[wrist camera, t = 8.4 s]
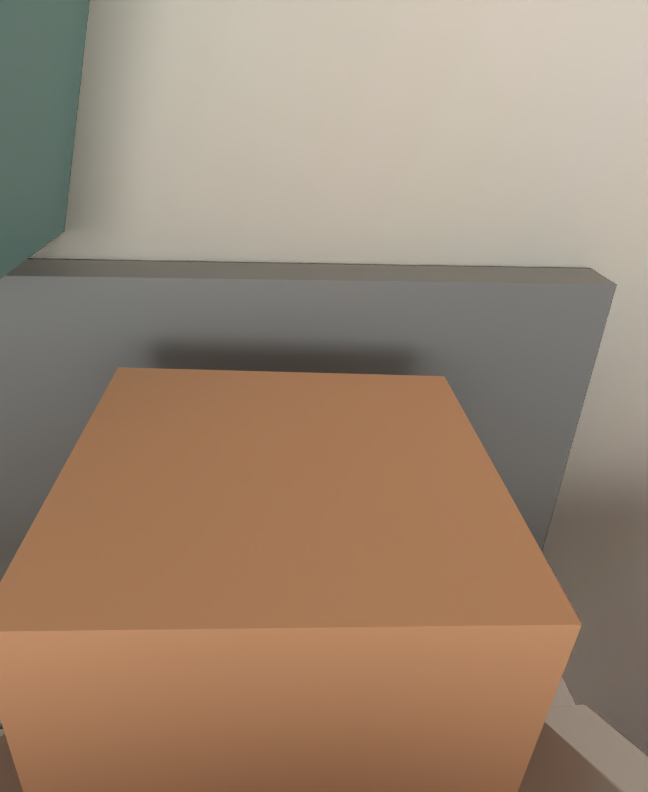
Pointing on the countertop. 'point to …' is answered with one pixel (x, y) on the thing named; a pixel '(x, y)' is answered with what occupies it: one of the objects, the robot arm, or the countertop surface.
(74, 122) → the teal brick
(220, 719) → the terracotta brick
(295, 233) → the countertop surface
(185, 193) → the countertop surface
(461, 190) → the countertop surface
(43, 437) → the grey baseplate
